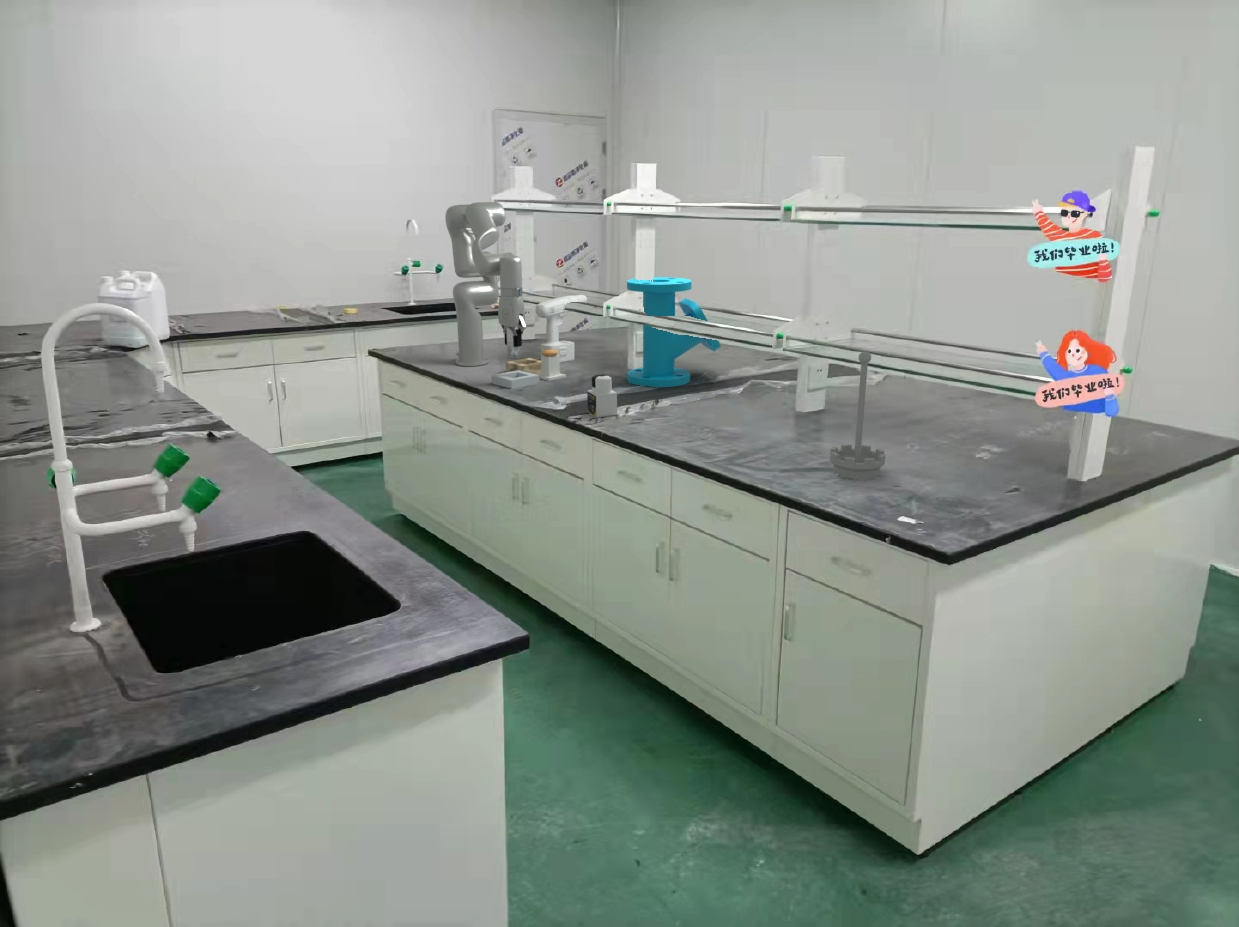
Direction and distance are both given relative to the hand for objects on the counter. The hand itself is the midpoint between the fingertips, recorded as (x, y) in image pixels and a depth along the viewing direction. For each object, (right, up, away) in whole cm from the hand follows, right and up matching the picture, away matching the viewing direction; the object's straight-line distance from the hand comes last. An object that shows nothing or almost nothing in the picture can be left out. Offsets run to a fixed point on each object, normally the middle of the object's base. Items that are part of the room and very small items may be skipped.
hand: (513, 344), depth 312 cm
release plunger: (+12, -9, +12) cm, 19 cm away
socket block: (0, -13, +4) cm, 14 cm away
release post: (+12, -10, +13) cm, 20 cm away
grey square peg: (0, -4, +1) cm, 4 cm away
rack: (+3, -7, +21) cm, 23 cm away
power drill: (+15, 0, +44) cm, 46 cm away
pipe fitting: (+56, -11, +8) cm, 58 cm away
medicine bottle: (+32, -26, -37) cm, 56 cm away
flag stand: (+95, -44, -93) cm, 140 cm away
